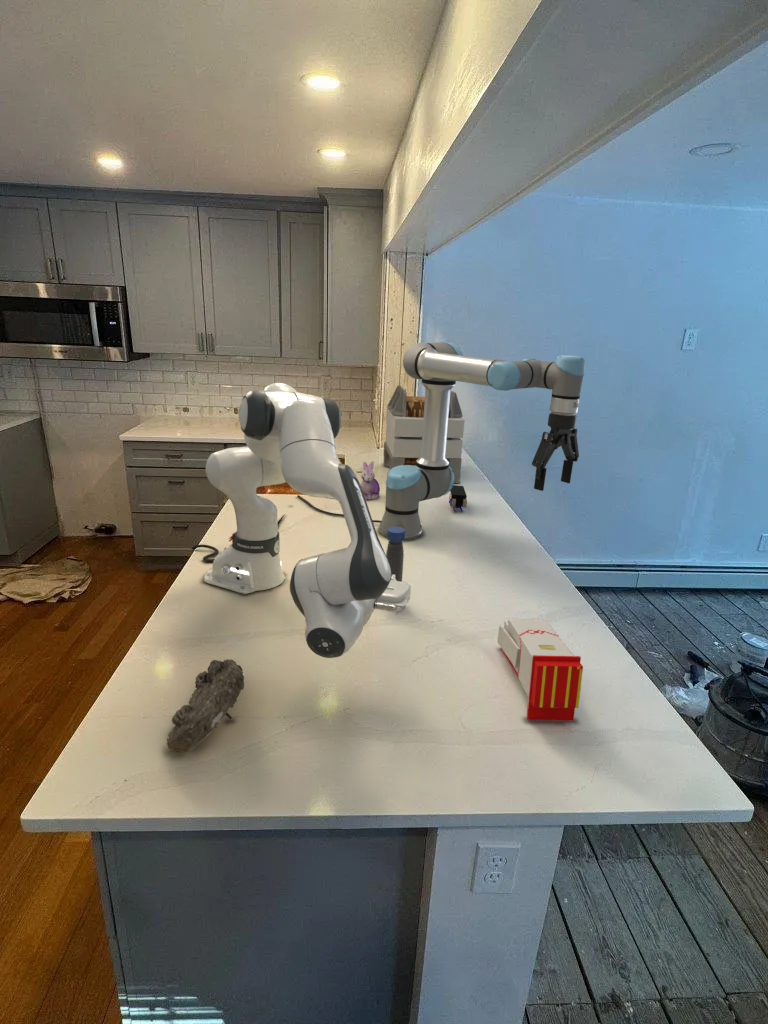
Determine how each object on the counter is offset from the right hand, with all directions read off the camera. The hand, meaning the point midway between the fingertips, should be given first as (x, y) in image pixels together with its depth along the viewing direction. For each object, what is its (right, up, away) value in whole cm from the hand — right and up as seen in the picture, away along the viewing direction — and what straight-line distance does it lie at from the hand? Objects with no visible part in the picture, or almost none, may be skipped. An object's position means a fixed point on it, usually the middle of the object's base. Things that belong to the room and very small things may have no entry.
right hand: (552, 485), depth 166 cm
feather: (-87, -10, +44) cm, 97 cm away
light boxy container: (-32, +11, +109) cm, 115 cm away
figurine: (-55, -1, +72) cm, 91 cm away
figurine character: (-20, -6, +64) cm, 67 cm away
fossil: (-82, -47, -57) cm, 110 cm away
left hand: (-52, -21, -40) cm, 69 cm away
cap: (-46, -12, -19) cm, 51 cm away
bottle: (-47, -32, -12) cm, 58 cm away
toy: (-17, -44, -42) cm, 63 cm away
